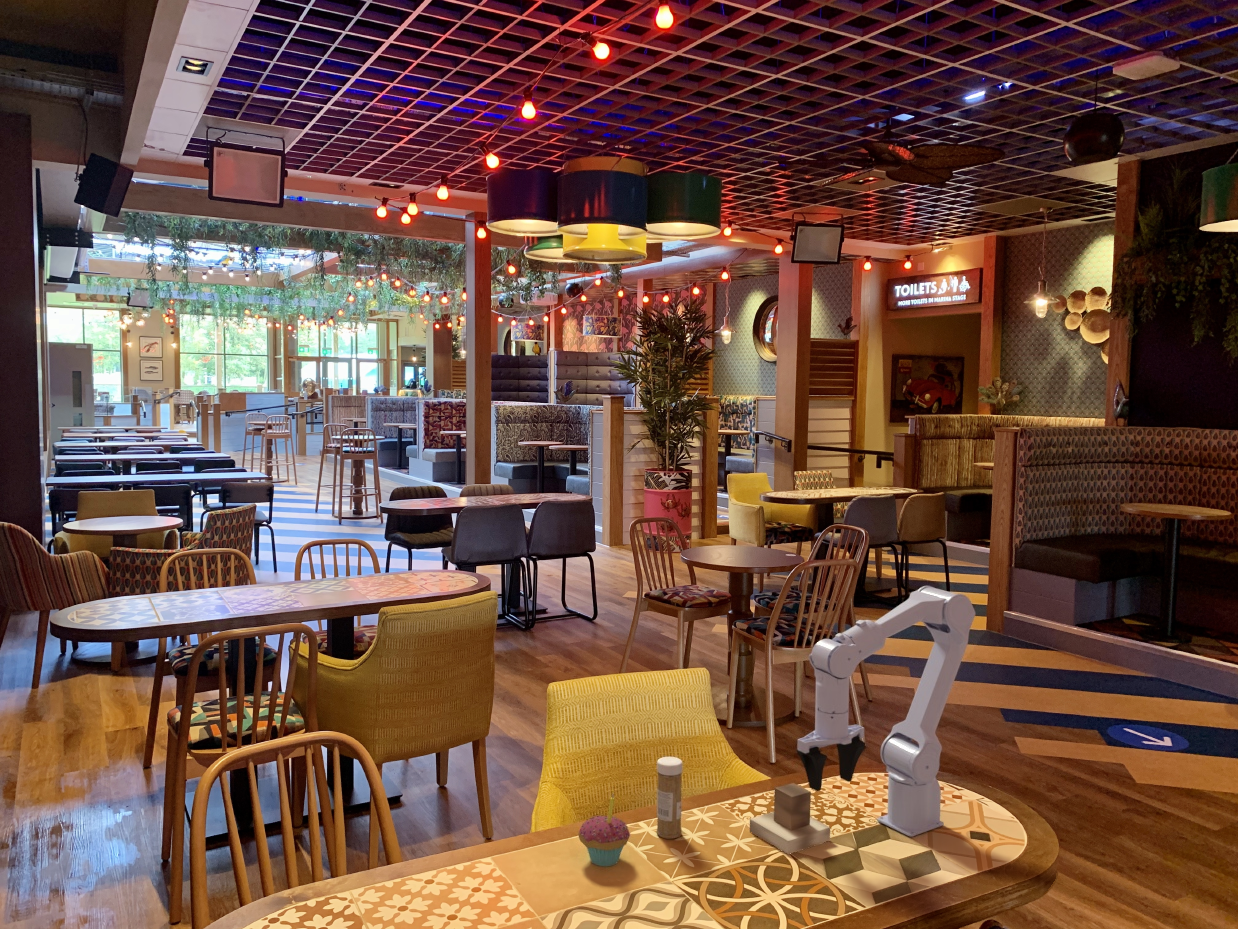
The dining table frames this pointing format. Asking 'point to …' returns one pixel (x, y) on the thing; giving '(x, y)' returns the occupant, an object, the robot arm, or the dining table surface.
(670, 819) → the sprinkles bottle
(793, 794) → the walnut block
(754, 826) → the birch block
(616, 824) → the cupcake
